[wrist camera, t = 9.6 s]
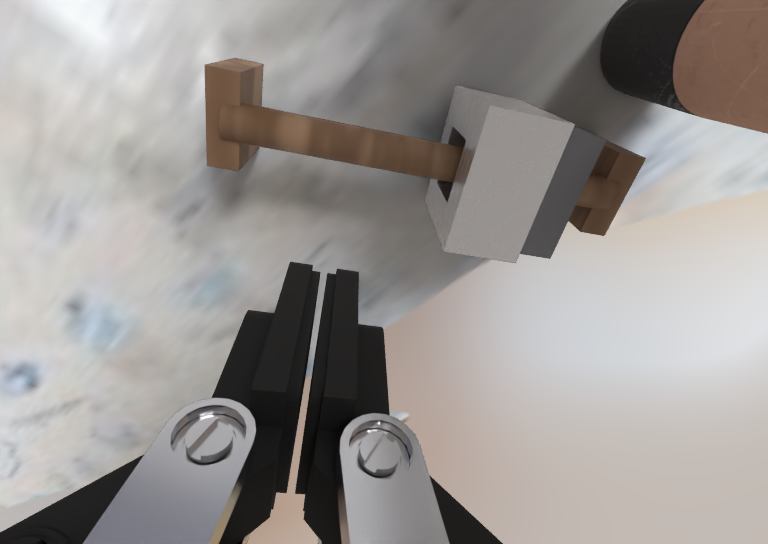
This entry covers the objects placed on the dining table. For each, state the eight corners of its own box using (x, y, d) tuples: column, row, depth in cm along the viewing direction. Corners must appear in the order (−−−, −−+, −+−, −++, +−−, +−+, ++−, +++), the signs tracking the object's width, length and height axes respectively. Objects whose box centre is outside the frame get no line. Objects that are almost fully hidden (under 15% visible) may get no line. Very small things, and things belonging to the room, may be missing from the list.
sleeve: (424, 200, 34) (443, 251, 26) (455, 85, 29) (490, 105, 21) (480, 210, 34) (515, 263, 27) (519, 99, 30) (575, 124, 22)
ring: (484, 207, 34) (515, 253, 27) (519, 107, 30) (567, 131, 23) (512, 212, 34) (550, 258, 27) (550, 114, 30) (606, 139, 23)
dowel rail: (233, 141, 32) (202, 169, 26) (234, 57, 29) (200, 65, 22) (566, 203, 36) (609, 240, 30) (597, 136, 33) (653, 161, 27)
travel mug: (717, 43, 30) (1195, 63, 13) (623, 118, 32) (917, 219, 15) (677, -52, 27) (1238, -194, 10) (577, 40, 29) (880, 55, 12)
